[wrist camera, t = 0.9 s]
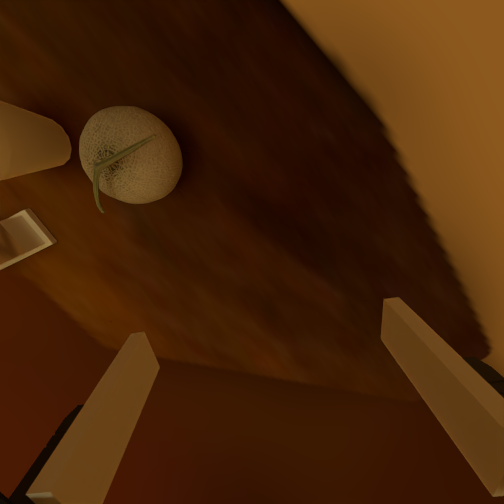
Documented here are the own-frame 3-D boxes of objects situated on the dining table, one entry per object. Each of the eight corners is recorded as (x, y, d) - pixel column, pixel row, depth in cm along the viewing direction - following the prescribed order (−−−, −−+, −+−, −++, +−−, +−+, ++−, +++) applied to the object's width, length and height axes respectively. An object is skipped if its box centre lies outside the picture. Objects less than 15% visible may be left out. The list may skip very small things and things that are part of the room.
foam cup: (94, 138, 32) (1, 128, 20) (66, 191, 35) (-31, 209, 23) (25, 85, 30) (-128, 36, 18) (0, 145, 32) (-148, 139, 20)
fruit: (106, 179, 34) (8, 196, 20) (129, 98, 30) (29, 51, 16) (173, 212, 36) (126, 248, 22) (203, 141, 32) (168, 130, 18)
